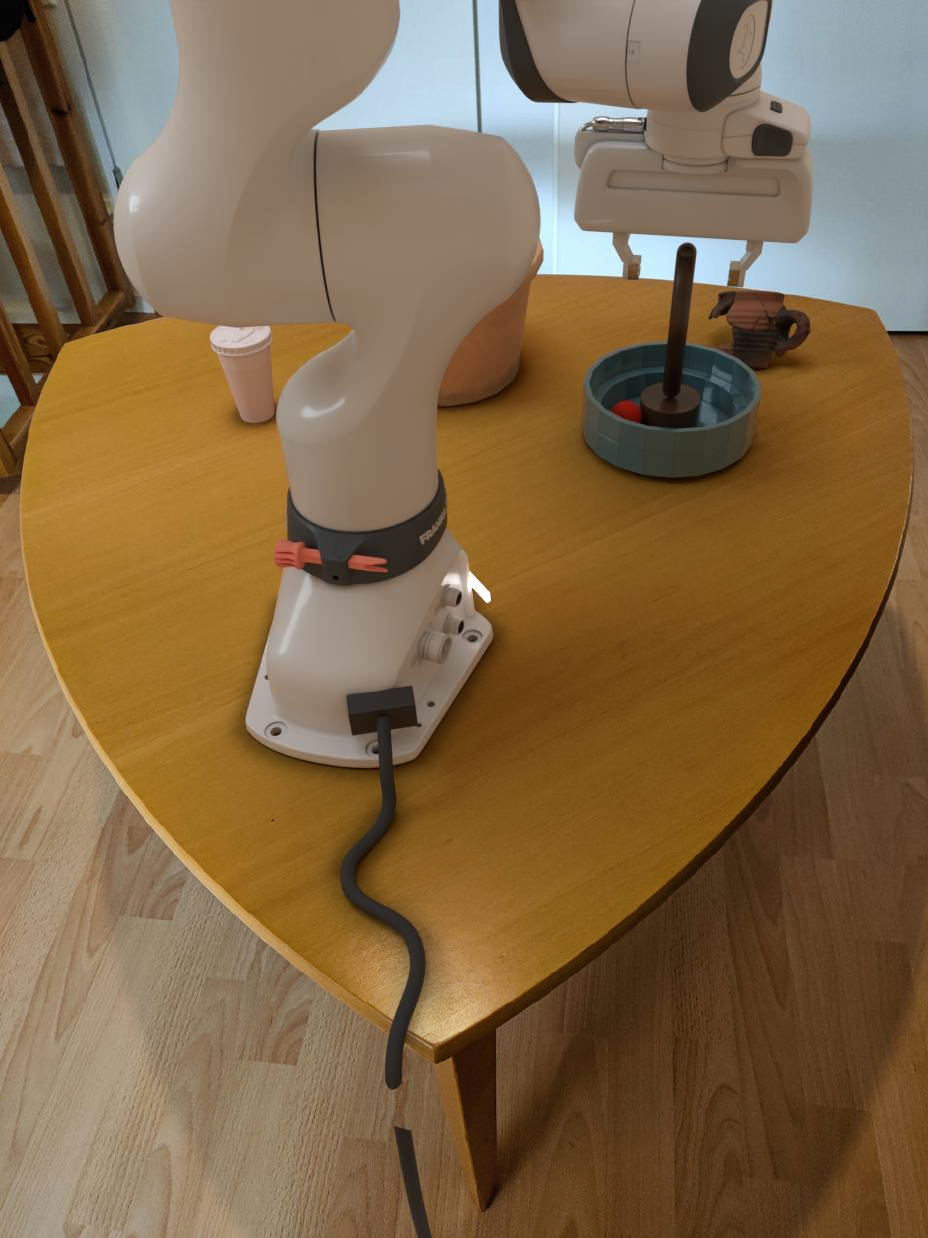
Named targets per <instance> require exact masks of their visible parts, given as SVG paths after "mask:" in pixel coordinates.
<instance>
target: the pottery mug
mask: <svg viewBox="0 0 928 1238" xmlns="http://www.w3.org/2000/svg"><path fill="white" fill-rule="evenodd" d="M717 297H718V298H717V301H718V302H717V303H716V304H715V305H714V306H713V308H712V309H711V311H710V313H709V315H708V317H707V318H708V320H711V319H718V318H719V317H723V316H725V318H726V322H727V324H728V325H729V326H731V332H732V341H733V342H731V343H726V344H724V343H723V344H721V343H720V344H718V345H717V348H716V349H718V350H720V351H723V352H725V353H727V354H729V355H732V356H734V357H736V358H738V359H740V360H741V361H742V362H743V363H745V364H746V365H747V366H748V367H750V368H759V369H761V368H762V369H767V368H768V367H769V365H770V361H771V358H772V357H773V354H775V356H776V357H777V358H782V357H783V356H784V355H785V353H786V352H788V351H793V350H795V349H798V348H799V347H800V346H801V345H803V343H804V342H806V340H807V338H808V336H809V334H811V332H812V330H811V320H810V317H809V316H808V315H807V314H806V313H805V312H804V311H801V310H797V309H788V308H787V307H786V305H785V304H784V302H785V301H784V300H785V294H784V293H783V292H779V291H772V290H771V291H770V290H727V291H721V292H719V293H718V294H717ZM795 324H796V328H795V331H794V333H793V334H792V335H791V336H790V332H791V329H792V327H793V325H795Z"/></svg>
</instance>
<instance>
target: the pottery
mask: <svg viewBox="0 0 928 1238" xmlns="http://www.w3.org/2000/svg"><path fill="white" fill-rule="evenodd" d="M544 253H545V252H544V247H543V245H542V241H541V238H540V237H539V243H538V247H537V251H536V254H535V257H534V260H533V263H532V265H531V267H530V270H529V272H528V274H527V275H526V277H525V279H524V280H523V282H522V283H521V285H520V286H519V287H518V289H517V290H516V291H515V292H514V294H513V295H512V296H511V297H510V298H509V299H508V300H507V301H505V302H504V303H502V304H501V305H499V306H498V307H497V308H495V309H494V310H493V311H491V312H490V313H489V314H488V315H487V316H485V317H484V318H483V319H482V320H481V321H480V322H479V323H478V324H477V325H476V326H475V327H474V328H473V329H472V330H471V331H470V333H469V334H468V335H467V336H466V337H465V339H464V340H463V341H462V343H461V344H460V345H459V347H458V349H457V350H456V352H455V353H454V355H453V357H452V358H451V360H450V362H449V364H448V366H447V369H446V371H445V373H444V376H443V379H442V382H441V385H440V390H439V395H438V402H437V407H455V406H461V405H467V404H473V403H477V402H480V401H482V400H485V399H487V398H490V397H492V396H494V395H497V394H498V393H500V392H501V391H502V390H503V389H505V388H506V387H507V386H508V385H510V384H512V382H514V380H515V377H516V376H517V373H518V371H519V369H520V360H521V359H520V358H521V353H522V346H523V339H524V332H525V325H526V318H527V310H528V304H529V297H530V292H531V283H532V281H533V280H534V279H535V278H536V276H537V275H538V272H539V270H540V268H541V267H542V264H543V262H544V256H545V255H544Z"/></svg>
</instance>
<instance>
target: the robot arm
mask: <svg viewBox="0 0 928 1238" xmlns="http://www.w3.org/2000/svg"><path fill="white" fill-rule="evenodd" d="M168 2H169V6H170V12H171V17H172V22H173V28H174V32H175V33H174V34H175V38H176V44H177V53H178V78H177V79H178V80H177V87H176V94H175V97H174V102H173V105H172V109H171V112H170V114H169V117H168V118H167V120H166V122H165V125H164V126H163V128H162V129H161V130H160V132H159V134H158V135H157V137H156V138H155V139H154V140H153V141H152V142H151V144H150V145H149V146H148V147H147V148H146V149H145V150H143V152H141V153H140V154H139V155H138V156H137V157H135V159H134V161H133V162H132V163H131V164H130V166H129V167H128V168H127V171H126V172H125V174H124V176H123V178H122V179H121V183H120V185H119V188H118V190H117V194H116V199H115V203H114V208H113V209H114V210H113V235H114V242H115V247H116V252H117V255H118V258H119V260H120V263H121V265H122V268H123V271H124V272H125V275H126V277H127V278H128V280H129V282H130V283H131V285H132V287H133V288H134V289H135V291H136V293H138V294H139V296H140V297H141V298H142V299H143V301H144V302H145V303H146V304H147V305H148V306H149V307H150V308H151V309H153V310H154V311H155V312H156V313H158V314H159V315H160V316H161V317H164V318H168V319H173V320H179V321H180V320H181V321H186V322H191V323H198V324H205V325H211V326H212V325H213V326H227V327H234V328H240V327H259V326H269V327H275V326H293V325H312V324H330V323H331V324H332V323H333V324H334V323H336V324H344V325H349V326H350V327H351V328H352V330H351V331H350V332H349V333H348V334H347V335H346V336H345V337H344V338H343V339H341V340H340V341H339V342H337V343H335V344H334V345H332V346H330V347H328V348H327V349H325V350H323V351H322V352H319V353H318V354H316V355H315V356H313V357H311V358H310V359H309V360H307V361H305V363H304V364H302V366H300V367H299V368H298V369H297V370H296V372H294V373H293V374H292V376H291V377H290V378H289V379H288V381H287V382H286V383H285V385H284V386H283V389H282V391H281V392H280V395H279V398H278V401H277V406H276V413H275V423H276V427H277V433H278V437H279V442H280V447H281V452H282V457H283V460H284V462H283V463H284V465H285V472H286V476H287V479H288V480H287V481H288V485H289V486H288V490H287V493H286V508H285V527H286V531H287V533H286V534H287V535H286V539H285V538H280V539H278V540H277V541H276V543H275V546H274V548H273V550H274V551H273V563H274V565H275V566H276V567H278V568H282V574H281V579H280V583H279V588H278V593H277V596H276V597H277V598H276V603H275V608H274V613H273V618H272V622H271V626H270V629H269V633H268V636H267V640H266V643H265V646H264V650H263V653H262V657H261V660H260V664H259V667H258V671H257V675H256V679H255V681H254V685H253V689H252V693H251V696H250V700H249V703H248V707H247V711H246V715H245V719H244V720H245V721H244V722H245V729H246V731H247V732H248V734H250V736H252V738H254V739H255V740H256V741H257V742H259V743H260V744H262V745H263V746H265V747H267V748H268V749H271V750H273V751H274V752H276V753H277V752H278V753H280V754H283V755H285V756H289V757H292V758H294V759H297V760H298V759H299V760H302V761H307V762H311V763H316V764H322V765H327V766H334V767H341V768H342V767H343V768H353V769H355V768H357V769H373V768H374V769H375V768H378V770H379V772H378V774H379V781H380V789H381V797H382V800H381V807H380V811H379V814H378V817H377V818H376V820H375V822H374V823H373V825H372V826H371V827H370V828H369V830H368V831H367V832H366V833H365V834H364V835H363V836H362V837H361V838H360V839H359V840H358V841H356V842H355V844H353V845H352V847H351V848H350V849H349V850H348V851H347V853H346V854H345V856H344V857H343V859H342V862H341V865H340V870H339V871H340V872H339V876H340V877H339V878H340V879H339V880H340V885H341V889H342V892H343V893H344V895H345V897H346V898H347V900H348V901H349V902H350V903H351V904H352V905H353V906H355V907H356V908H357V909H359V910H360V911H362V912H364V914H366V915H369V916H371V917H372V918H375V919H376V920H378V921H380V922H381V923H384V924H385V925H387V926H388V927H390V928H392V929H393V930H395V932H397V933H398V934H399V935H400V936H401V938H402V939H403V940H404V943H405V945H406V947H407V951H408V955H409V972H408V975H407V980H406V983H405V987H404V989H403V991H402V995H401V997H400V1000H399V1003H398V1005H397V1008H396V1010H395V1014H394V1016H393V1020H392V1022H391V1026H390V1029H389V1034H388V1037H387V1043H386V1050H385V1060H384V1061H385V1063H384V1082H385V1085H386V1087H387V1088H388V1089H389V1090H391V1091H393V1090H398V1089H399V1088H400V1086H401V1085H402V1082H403V1059H404V1049H405V1043H406V1038H407V1034H408V1031H409V1026H410V1024H411V1021H412V1018H413V1015H414V1013H415V1010H416V1008H417V1004H418V1001H419V999H420V996H421V993H422V990H423V986H424V981H425V976H426V952H425V947H424V944H423V940H422V938H421V935H420V933H419V931H418V930H417V928H416V927H415V926H414V925H413V923H412V922H411V921H410V920H409V919H407V918H406V917H405V916H404V915H402V914H401V913H399V912H398V911H396V910H395V909H393V908H391V907H389V906H387V905H385V904H383V903H381V902H379V901H377V900H375V899H373V898H372V897H370V896H369V895H367V894H366V893H365V892H363V890H362V889H361V888H360V887H359V885H358V884H357V881H356V877H355V876H356V875H355V874H356V873H355V872H356V868H357V866H358V864H359V863H360V862H361V860H362V858H363V857H364V856H365V855H366V854H367V853H368V852H369V851H370V850H371V849H373V847H374V846H375V845H377V843H378V842H379V841H380V840H381V839H382V837H383V836H385V834H386V832H387V831H388V829H389V828H390V826H391V824H392V822H393V819H394V816H395V813H396V808H397V789H396V783H395V776H394V775H395V774H394V766H396V765H401V764H404V763H408V762H411V761H413V760H415V759H416V758H417V757H418V756H419V755H420V754H421V752H422V751H423V749H424V748H425V746H426V745H427V743H428V742H429V740H430V738H432V736H433V734H434V732H435V731H436V729H437V727H438V726H439V725H440V723H441V721H442V720H443V718H444V717H445V715H446V713H447V712H448V710H449V709H450V707H451V706H452V704H453V703H454V701H455V699H456V698H457V696H458V694H459V693H460V692H461V690H462V688H463V687H464V685H465V684H466V682H467V681H468V679H469V678H470V676H471V675H472V672H473V671H474V669H475V668H476V666H477V665H478V664H479V662H480V661H481V659H482V657H483V655H484V654H485V653H486V651H487V649H488V648H489V646H490V645H491V643H492V641H493V639H494V630H493V625H492V624H491V622H490V621H489V620H488V619H487V618H486V617H484V615H482V614H481V613H479V612H478V611H477V610H476V609H475V599H474V594H473V589H474V590H475V592H476V593H477V594H478V595H479V596H480V597H481V598H482V599H483V600H484V601H485V602H486V603H490V602H491V593H490V591H489V590H487V588H486V587H485V586H484V585H483V584H482V583H481V582H480V581H479V580H478V579H477V578H476V576H475V575H473V573H472V572H471V571H470V564H469V557H468V554H467V552H466V551H465V549H464V547H462V545H461V544H460V543H459V542H458V541H457V539H456V538H455V536H454V535H453V534H452V532H451V531H450V529H449V528H448V508H449V507H448V505H449V503H448V493H447V488H446V487H445V479H444V476H443V474H442V472H441V470H440V468H439V467H438V451H437V450H438V449H437V447H438V446H437V445H438V444H437V422H438V421H437V417H438V406H437V402H438V395H439V390H440V385H441V382H442V379H443V376H444V373H445V371H446V369H447V366H448V364H449V362H450V360H451V358H452V357H453V355H454V353H455V352H456V350H457V349H458V347H459V345H460V344H461V343H462V341H463V340H464V339H465V337H466V336H467V335H468V334H469V333H470V331H471V330H472V329H473V328H474V327H475V326H476V325H477V324H478V323H479V322H480V321H481V320H482V319H483V318H484V317H485V316H487V315H488V314H489V313H490V312H491V311H493V310H494V309H495V308H497V307H498V306H499V305H501V304H502V303H504V302H505V301H507V300H508V299H509V298H510V297H511V296H512V295H513V294H514V292H515V291H516V290H517V289H518V287H519V286H520V285H521V283H522V282H523V280H524V279H525V277H526V275H527V274H528V272H529V270H530V267H531V265H532V263H533V260H534V257H535V254H536V251H537V247H538V243H539V238H540V237H541V225H542V223H541V222H542V221H541V220H542V219H541V207H540V200H539V195H538V191H537V188H536V184H535V182H534V180H533V177H532V175H531V173H530V171H529V168H528V166H527V164H526V163H525V162H524V160H523V159H522V157H521V155H520V154H519V153H518V151H517V150H516V149H515V148H514V147H513V145H512V144H511V143H510V142H508V140H506V139H505V138H504V137H503V136H500V135H495V134H491V133H485V132H479V131H473V130H469V129H464V128H463V129H462V128H457V127H448V126H441V125H435V124H416V125H415V124H412V125H398V126H397V125H395V126H379V127H378V126H377V127H361V128H359V127H358V128H345V129H344V128H343V129H323V130H320V129H319V128H314V127H316V126H317V125H318V124H320V123H322V122H323V121H325V120H326V119H328V118H330V117H331V116H333V115H334V114H336V113H337V112H339V111H340V110H342V109H344V108H345V107H347V106H348V105H349V104H351V103H353V102H354V101H355V100H356V99H357V98H359V97H360V96H361V95H362V94H363V93H364V92H365V91H366V89H367V88H368V87H369V86H370V85H371V84H372V82H373V81H374V80H375V79H376V77H377V76H378V74H379V73H380V72H381V70H382V69H383V68H384V66H385V65H386V63H387V61H388V59H389V57H390V55H391V54H392V51H393V49H394V46H395V44H396V41H397V38H398V32H399V28H400V22H401V4H400V0H168ZM773 5H774V0H498V38H499V39H498V41H499V50H500V55H501V59H502V62H503V64H504V68H505V69H506V71H507V73H508V74H509V76H510V78H511V80H512V81H513V82H514V84H515V85H516V86H517V88H518V89H519V91H520V92H521V93H522V94H523V95H524V96H525V98H527V99H529V101H531V102H534V103H537V104H540V103H541V104H577V103H583V104H591V105H600V106H608V107H616V108H624V109H631V110H632V109H633V110H646V117H643V116H642V117H641V116H637V117H636V116H624V117H610V116H605V115H600V116H594V117H593V118H592V120H590V121H588V122H587V121H586V122H585V123H584V124H582V125H581V126H580V127H579V128H578V130H577V131H576V134H575V137H574V148H573V149H574V151H573V152H574V153H573V156H574V161H575V164H576V166H577V167H578V168H579V170H580V172H579V176H578V180H577V186H576V192H575V199H574V200H575V201H574V209H573V210H574V211H573V220H574V222H575V223H576V224H577V226H578V228H579V229H580V230H581V231H583V232H593V233H594V232H595V233H596V232H597V233H612V243H611V244H612V246H613V248H614V249H615V252H616V254H617V255H618V258H619V259H620V261H621V262H622V263H623V264H622V280H629V281H631V280H632V281H639V279H640V276H641V269H642V267H641V264H642V257H643V256H642V255H641V254H634V253H633V251H632V249H631V247H630V245H629V241H630V237H631V235H646V236H661V237H679V238H694V239H695V238H697V239H711V240H713V239H714V240H729V241H746V243H745V244H746V245H745V253H744V255H743V256H742V257H741V258H740V259H739V260H730V261H729V268H728V275H727V281H726V287H732V288H744V285H745V279H746V273H747V271H748V270H749V269H750V268H751V267H752V265H753V264H754V263H755V262H756V261H757V259H758V258H759V257H760V256H761V255H762V252H763V246H764V242H765V243H780V244H797V243H799V242H800V241H802V239H804V238H805V236H806V235H807V234H808V233H809V229H810V224H811V223H810V222H811V216H812V206H813V205H812V204H813V186H814V185H813V184H814V178H813V177H814V176H813V175H814V173H813V157H812V154H811V153H812V152H811V151H810V149H809V147H808V145H809V142H810V137H811V132H812V131H811V130H812V123H811V118H810V114H809V112H808V110H807V109H806V108H805V107H803V106H802V105H800V104H796V103H794V102H791V101H789V100H786V99H783V98H781V97H778V96H775V95H772V94H770V93H768V92H766V91H762V90H761V88H762V81H763V69H762V60H763V57H764V55H765V50H766V46H767V40H768V33H769V27H770V23H771V18H772V13H773ZM591 128H592V129H591ZM376 752H377V753H376ZM393 1130H394V1136H395V1141H396V1148H397V1154H398V1160H399V1165H400V1169H401V1175H402V1179H403V1184H404V1185H403V1186H404V1189H405V1193H406V1199H407V1202H408V1203H407V1204H408V1207H409V1212H410V1215H411V1220H412V1223H413V1226H414V1229H415V1233H416V1237H417V1238H433V1237H432V1232H431V1227H430V1224H429V1219H428V1215H427V1210H426V1206H425V1201H424V1196H423V1191H422V1186H421V1181H420V1176H419V1169H418V1163H417V1157H416V1150H415V1145H414V1139H413V1133H412V1130H411V1129H408V1128H403V1127H399V1126H396V1125H393Z"/></svg>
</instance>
